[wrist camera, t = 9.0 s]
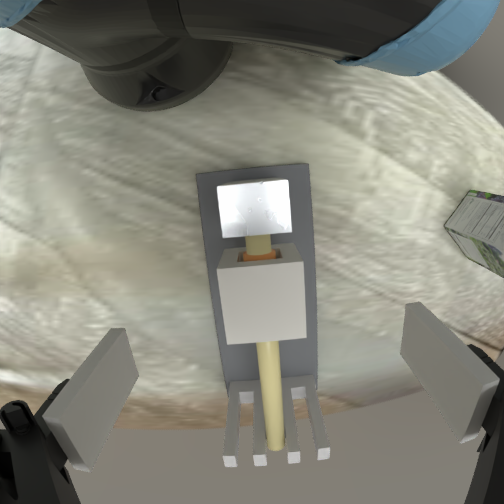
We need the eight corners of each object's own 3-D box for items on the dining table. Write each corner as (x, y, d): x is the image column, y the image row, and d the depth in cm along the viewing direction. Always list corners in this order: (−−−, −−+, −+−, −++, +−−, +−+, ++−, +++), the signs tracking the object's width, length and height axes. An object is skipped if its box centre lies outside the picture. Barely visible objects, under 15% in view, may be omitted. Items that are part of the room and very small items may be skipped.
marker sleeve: (224, 249, 24) (216, 269, 19) (293, 242, 23) (303, 261, 19) (232, 312, 25) (227, 344, 20) (297, 306, 25) (306, 337, 20)
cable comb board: (198, 174, 30) (161, 175, 17) (305, 163, 29) (340, 159, 17) (229, 389, 35) (219, 471, 23) (315, 382, 35) (335, 461, 23)
